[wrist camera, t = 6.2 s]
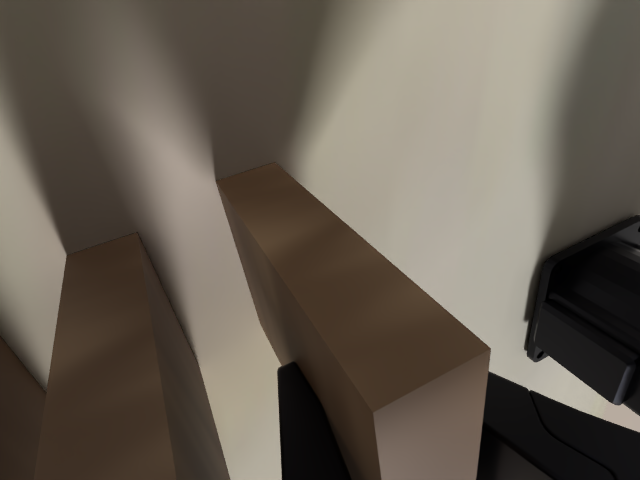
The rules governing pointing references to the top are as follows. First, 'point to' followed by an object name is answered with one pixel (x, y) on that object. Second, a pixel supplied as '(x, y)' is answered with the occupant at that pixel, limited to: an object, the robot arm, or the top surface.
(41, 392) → the domino
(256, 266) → the domino
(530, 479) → the robot arm
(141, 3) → the top surface
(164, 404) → the domino
